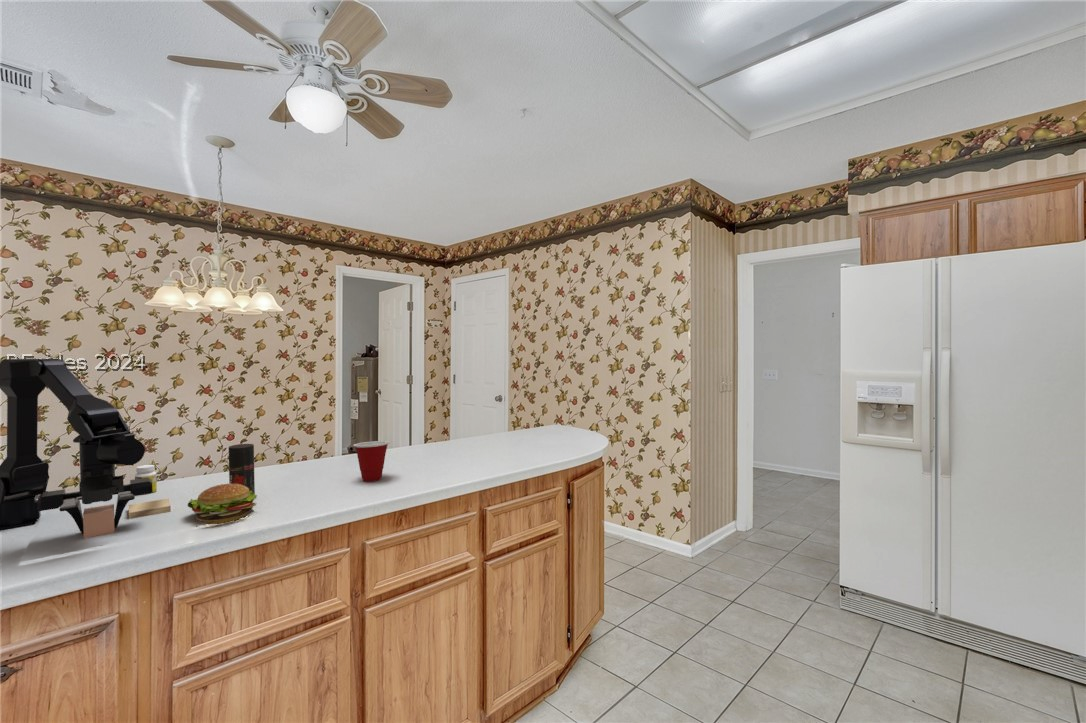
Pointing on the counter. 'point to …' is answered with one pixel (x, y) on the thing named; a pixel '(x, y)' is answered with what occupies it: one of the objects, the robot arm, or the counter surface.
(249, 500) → the food
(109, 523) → the block
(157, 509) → the tan square slab
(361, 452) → the plastic cup
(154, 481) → the supplement bottle
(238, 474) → the deodorant
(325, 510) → the counter surface
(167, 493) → the counter surface
